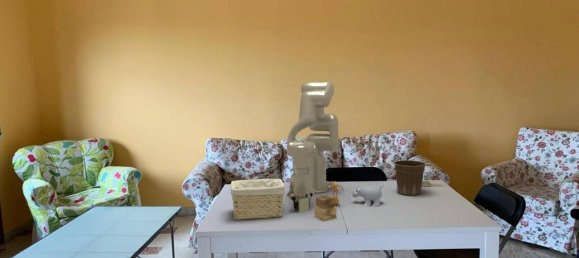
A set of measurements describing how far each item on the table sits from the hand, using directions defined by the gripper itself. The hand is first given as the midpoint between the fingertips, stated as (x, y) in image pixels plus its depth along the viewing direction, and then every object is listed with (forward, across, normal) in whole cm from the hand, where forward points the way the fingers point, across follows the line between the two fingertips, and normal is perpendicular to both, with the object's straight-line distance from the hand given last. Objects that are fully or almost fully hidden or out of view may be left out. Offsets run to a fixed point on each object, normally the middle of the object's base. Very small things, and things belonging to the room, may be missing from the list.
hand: (301, 208), depth 183 cm
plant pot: (+1, -62, +7) cm, 62 cm away
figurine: (+1, -17, +3) cm, 17 cm away
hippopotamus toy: (+1, -33, +9) cm, 34 cm away
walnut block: (-4, -4, +14) cm, 15 cm away
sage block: (+1, 0, 0) cm, 1 cm away
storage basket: (+1, +20, -6) cm, 21 cm away
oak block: (+1, -4, +14) cm, 15 cm away
